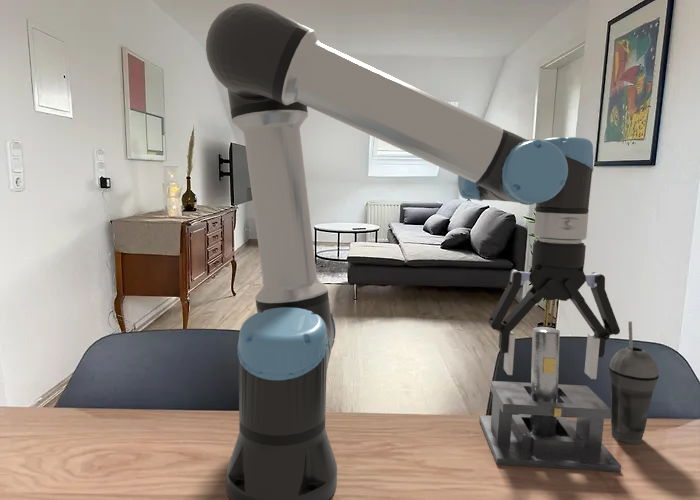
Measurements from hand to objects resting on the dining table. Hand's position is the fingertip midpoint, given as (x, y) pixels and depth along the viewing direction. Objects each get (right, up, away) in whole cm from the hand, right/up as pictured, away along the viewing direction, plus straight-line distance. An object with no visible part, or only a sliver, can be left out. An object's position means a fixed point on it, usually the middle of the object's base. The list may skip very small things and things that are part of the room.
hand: (548, 374), depth 79 cm
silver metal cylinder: (0, -11, +1) cm, 11 cm away
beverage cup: (+15, -12, +4) cm, 20 cm away
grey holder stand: (0, -12, +2) cm, 12 cm away
